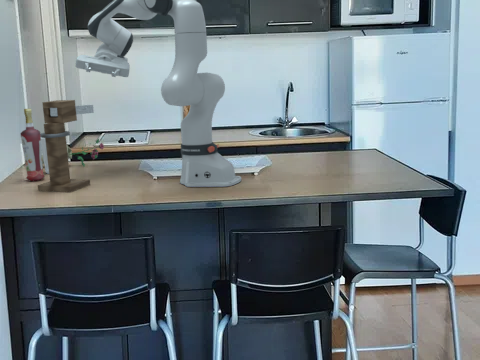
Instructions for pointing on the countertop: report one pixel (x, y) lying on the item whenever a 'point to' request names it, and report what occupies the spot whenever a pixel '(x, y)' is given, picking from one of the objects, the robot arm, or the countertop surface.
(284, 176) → the countertop surface
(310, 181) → the countertop surface
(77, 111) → the gray square bar
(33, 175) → the liquor
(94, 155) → the flower vase
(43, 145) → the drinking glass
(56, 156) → the rosette stand
